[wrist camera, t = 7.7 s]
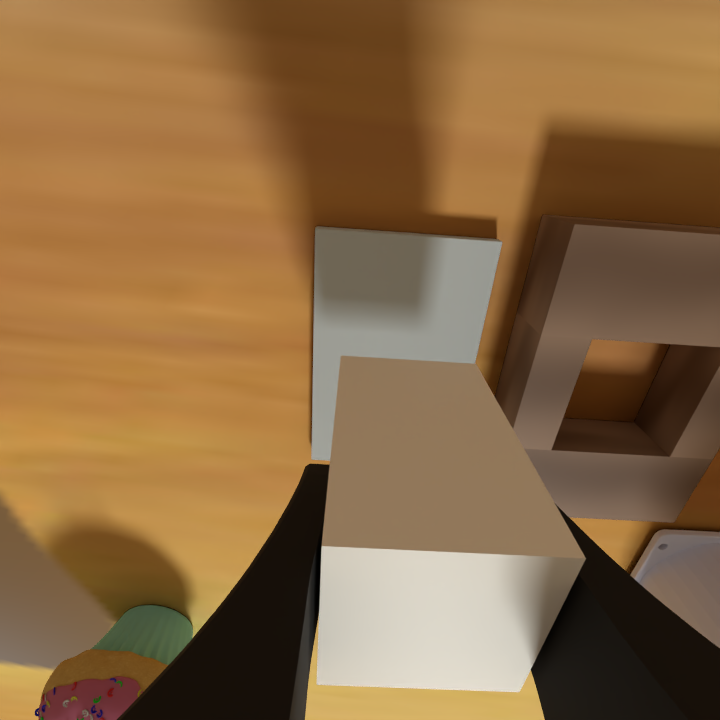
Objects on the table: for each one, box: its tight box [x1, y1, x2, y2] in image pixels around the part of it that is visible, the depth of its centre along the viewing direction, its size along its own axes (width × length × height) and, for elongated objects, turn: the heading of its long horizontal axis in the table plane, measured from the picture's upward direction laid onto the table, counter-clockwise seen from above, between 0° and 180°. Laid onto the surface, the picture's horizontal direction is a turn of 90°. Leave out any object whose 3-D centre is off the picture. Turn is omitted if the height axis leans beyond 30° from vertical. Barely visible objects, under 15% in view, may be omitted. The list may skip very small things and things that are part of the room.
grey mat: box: [312, 226, 502, 460], centre depth 17 cm, size 11×7×1 cm, turn 176°
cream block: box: [317, 356, 586, 692], centre depth 11 cm, size 4×4×7 cm
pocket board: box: [495, 215, 720, 523], centre depth 17 cm, size 13×9×2 cm
